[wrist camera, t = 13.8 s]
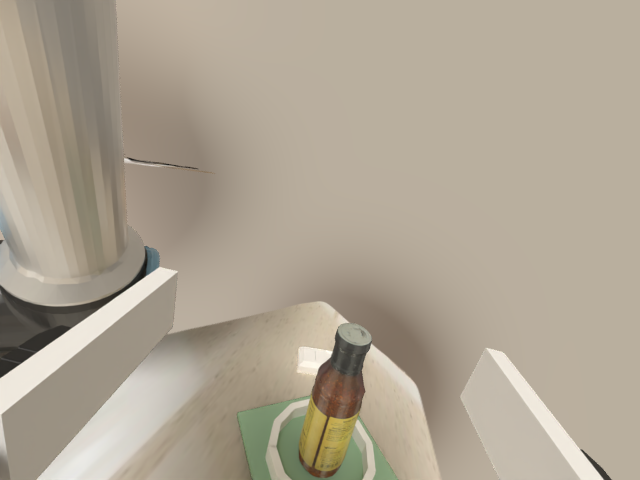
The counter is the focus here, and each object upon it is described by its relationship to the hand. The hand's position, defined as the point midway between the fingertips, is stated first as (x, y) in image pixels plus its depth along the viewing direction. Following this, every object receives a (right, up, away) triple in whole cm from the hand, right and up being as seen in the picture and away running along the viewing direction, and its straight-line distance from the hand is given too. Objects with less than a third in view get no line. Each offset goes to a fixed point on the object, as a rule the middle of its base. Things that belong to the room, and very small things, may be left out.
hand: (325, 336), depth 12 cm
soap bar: (0, -20, +43) cm, 48 cm away
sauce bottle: (-1, -25, +27) cm, 37 cm away
